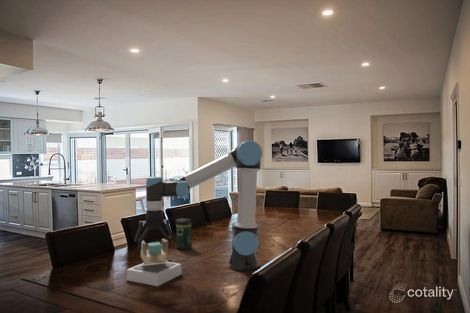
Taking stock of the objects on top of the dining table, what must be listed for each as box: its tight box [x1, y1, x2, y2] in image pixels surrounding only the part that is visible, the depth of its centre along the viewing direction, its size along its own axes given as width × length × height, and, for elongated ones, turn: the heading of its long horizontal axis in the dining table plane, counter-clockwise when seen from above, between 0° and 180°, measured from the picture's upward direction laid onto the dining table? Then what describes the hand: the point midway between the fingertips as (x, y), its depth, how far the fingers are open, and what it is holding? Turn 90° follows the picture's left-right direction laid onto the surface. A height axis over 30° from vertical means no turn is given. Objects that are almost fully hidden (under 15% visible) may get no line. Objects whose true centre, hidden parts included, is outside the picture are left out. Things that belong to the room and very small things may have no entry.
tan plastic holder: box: [140, 238, 170, 264], centre depth 170 cm, size 11×12×8 cm
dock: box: [126, 261, 183, 287], centre depth 170 cm, size 18×18×5 cm
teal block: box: [147, 241, 161, 254], centre depth 170 cm, size 6×6×4 cm
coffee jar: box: [175, 217, 193, 250], centre depth 224 cm, size 10×8×19 cm
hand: (154, 255), depth 170 cm, fingers closed on tan plastic holder, 11 cm apart
